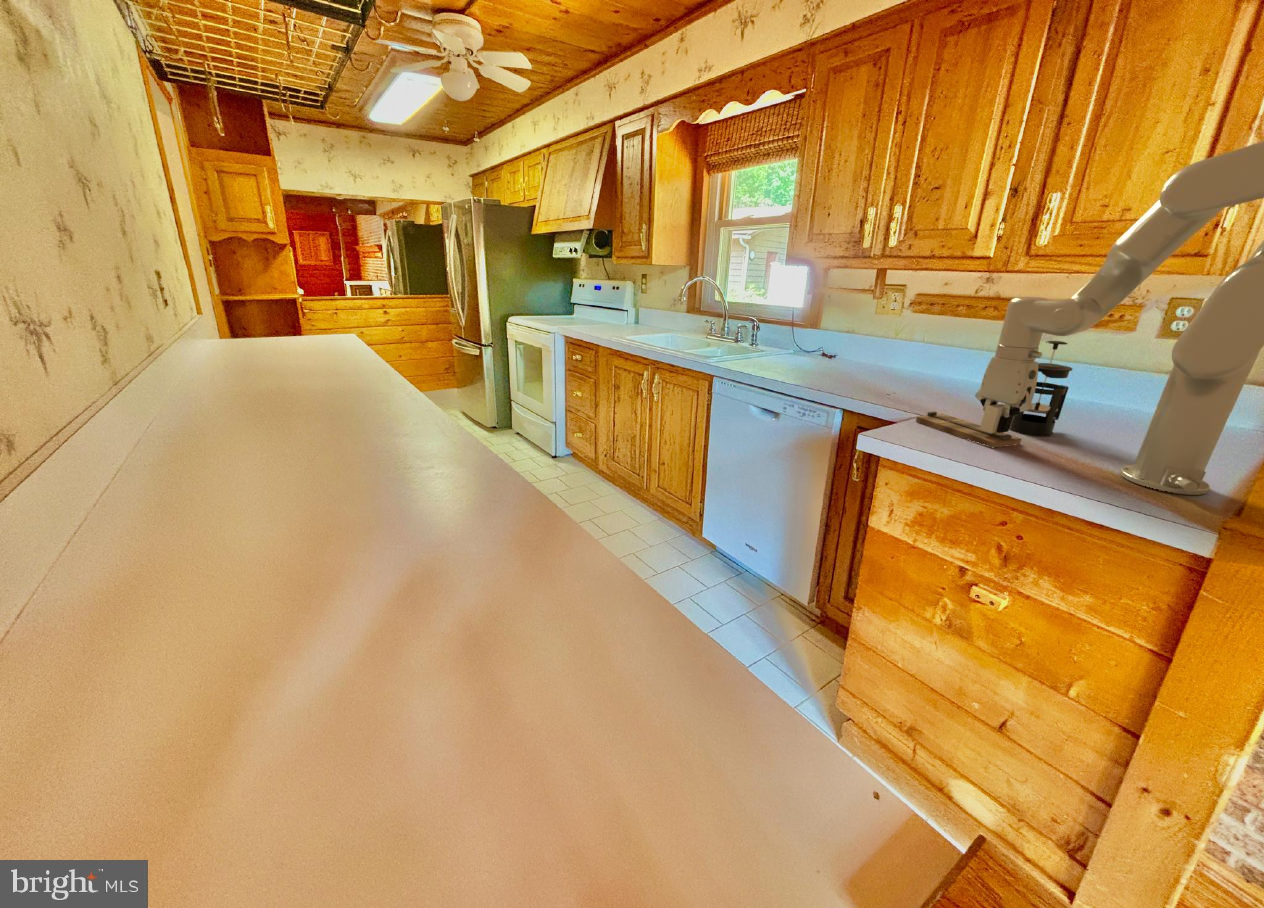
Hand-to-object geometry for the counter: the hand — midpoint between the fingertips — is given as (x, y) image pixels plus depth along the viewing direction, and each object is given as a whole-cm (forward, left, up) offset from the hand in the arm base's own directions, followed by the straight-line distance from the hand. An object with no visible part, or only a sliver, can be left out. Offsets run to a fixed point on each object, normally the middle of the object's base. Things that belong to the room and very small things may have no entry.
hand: (994, 428), depth 122 cm
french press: (+13, -13, -3) cm, 18 cm away
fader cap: (0, 0, -1) cm, 1 cm away
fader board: (+6, +4, -3) cm, 8 cm away
